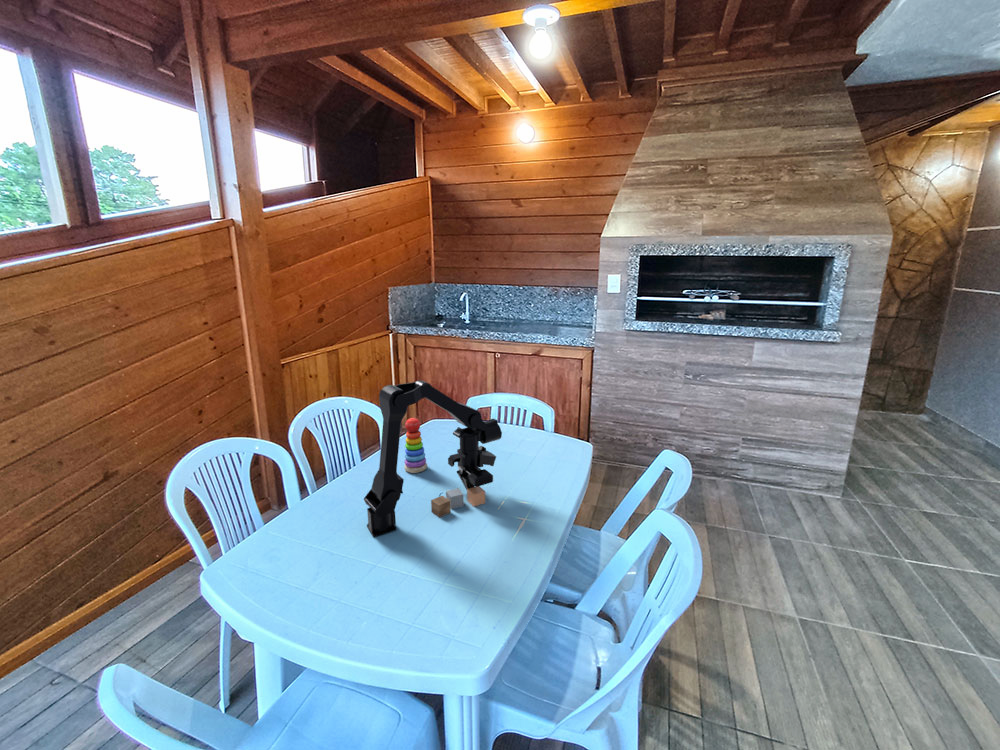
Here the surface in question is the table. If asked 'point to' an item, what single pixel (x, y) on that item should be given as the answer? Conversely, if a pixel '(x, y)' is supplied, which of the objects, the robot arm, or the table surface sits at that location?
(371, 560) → the table surface
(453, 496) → the slate block
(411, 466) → the stacking toy
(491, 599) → the table surface
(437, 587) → the table surface
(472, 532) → the table surface
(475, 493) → the terracotta block
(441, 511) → the walnut cube
